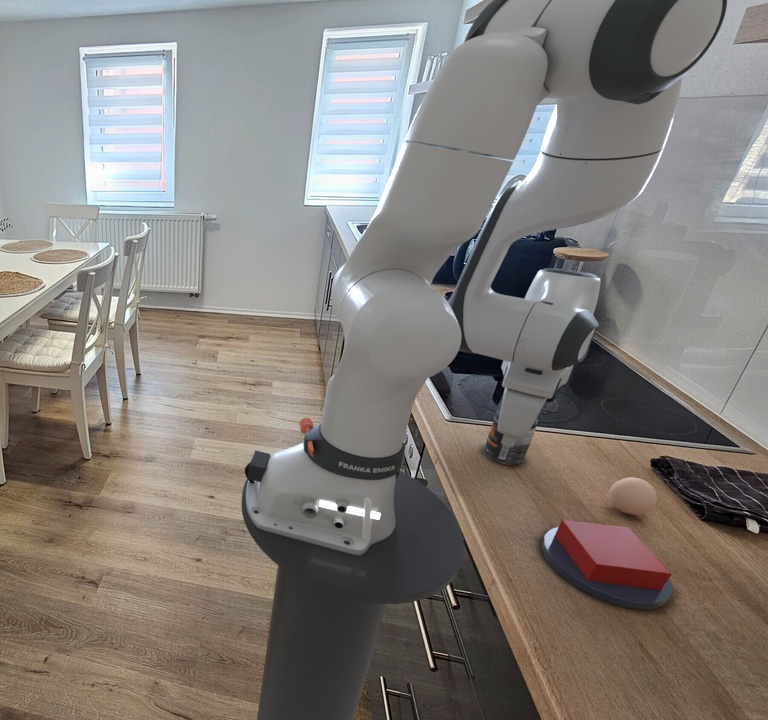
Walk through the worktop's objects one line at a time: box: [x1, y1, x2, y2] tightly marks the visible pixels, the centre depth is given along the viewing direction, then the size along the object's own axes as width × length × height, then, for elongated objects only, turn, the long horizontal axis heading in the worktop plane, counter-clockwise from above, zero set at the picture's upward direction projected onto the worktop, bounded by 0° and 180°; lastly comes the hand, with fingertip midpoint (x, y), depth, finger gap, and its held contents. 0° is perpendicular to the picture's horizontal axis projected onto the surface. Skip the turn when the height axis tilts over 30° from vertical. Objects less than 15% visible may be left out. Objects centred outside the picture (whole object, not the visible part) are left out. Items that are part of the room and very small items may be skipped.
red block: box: [555, 519, 672, 590], centre depth 66 cm, size 8×8×3 cm
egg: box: [608, 476, 658, 516], centre depth 75 cm, size 5×5×6 cm
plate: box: [540, 526, 674, 611], centre depth 67 cm, size 13×13×1 cm
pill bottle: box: [483, 407, 539, 466], centre depth 87 cm, size 6×6×11 cm
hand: (511, 435), depth 88 cm, fingers closed on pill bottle, 6 cm apart
